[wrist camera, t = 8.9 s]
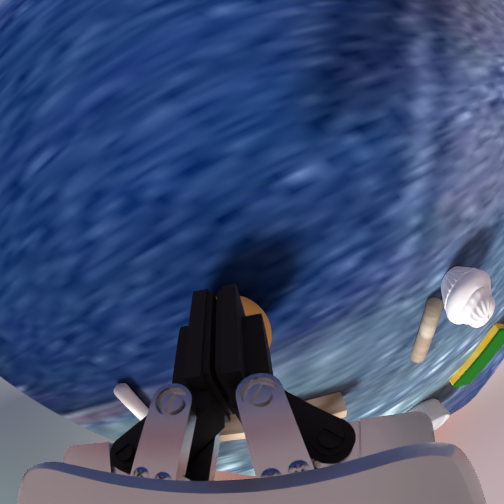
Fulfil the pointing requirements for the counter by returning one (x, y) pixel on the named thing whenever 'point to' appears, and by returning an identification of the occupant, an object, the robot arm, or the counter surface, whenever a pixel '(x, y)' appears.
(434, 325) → the birch pin
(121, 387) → the white pin
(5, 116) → the counter surface
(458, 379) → the dish sponge
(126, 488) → the robot arm
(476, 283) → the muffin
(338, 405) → the rail
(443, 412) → the ramekin
